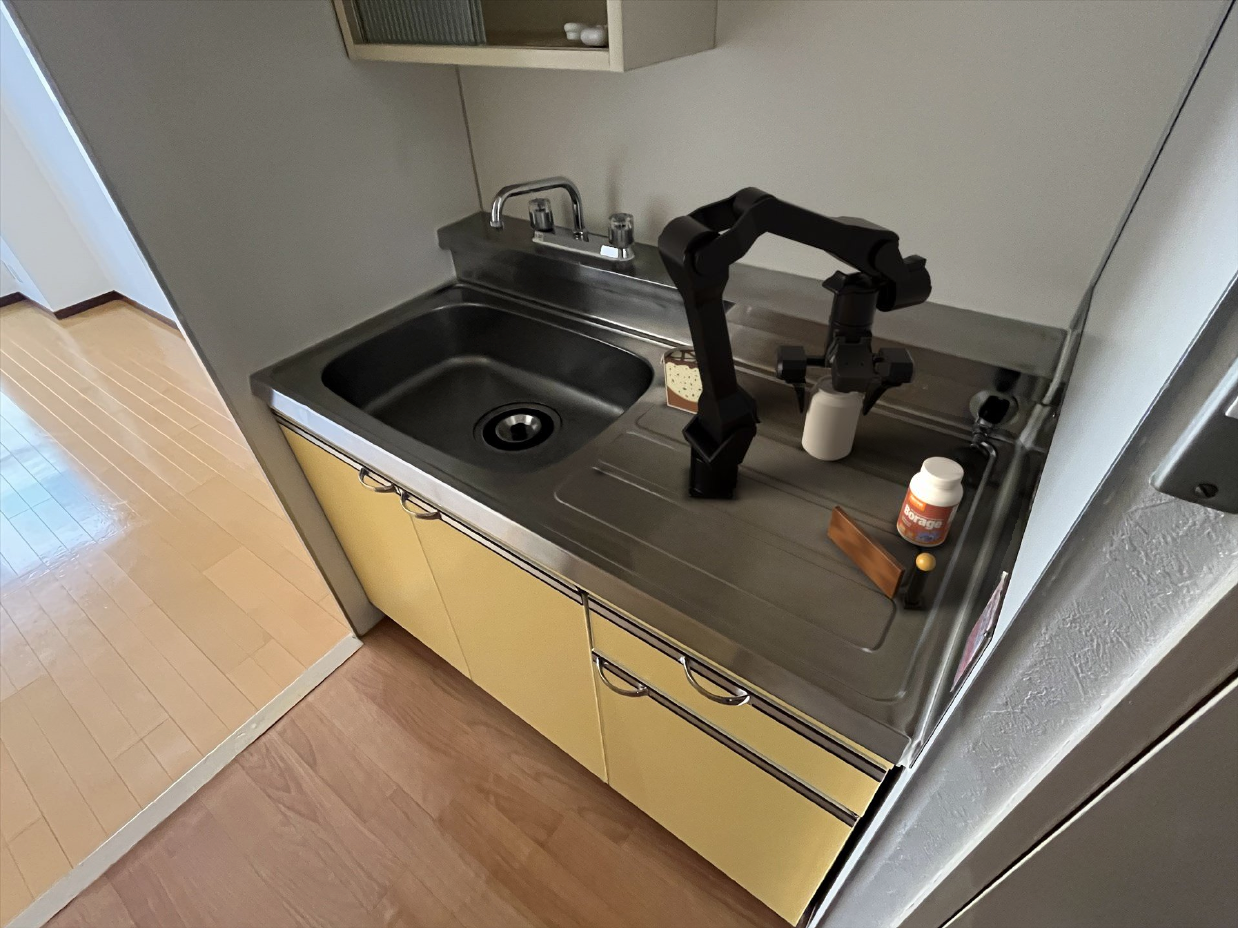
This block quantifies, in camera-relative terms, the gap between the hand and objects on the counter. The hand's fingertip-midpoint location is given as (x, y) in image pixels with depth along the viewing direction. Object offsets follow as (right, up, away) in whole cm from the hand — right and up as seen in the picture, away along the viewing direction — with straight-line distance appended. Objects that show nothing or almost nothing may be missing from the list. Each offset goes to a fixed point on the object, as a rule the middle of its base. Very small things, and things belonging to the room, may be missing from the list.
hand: (832, 413), depth 97 cm
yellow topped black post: (+3, -24, -20) cm, 32 cm away
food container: (-18, +3, +16) cm, 24 cm away
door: (-2, -21, -15) cm, 26 cm away
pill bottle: (+8, -17, -11) cm, 22 cm away
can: (0, -6, +4) cm, 7 cm away
